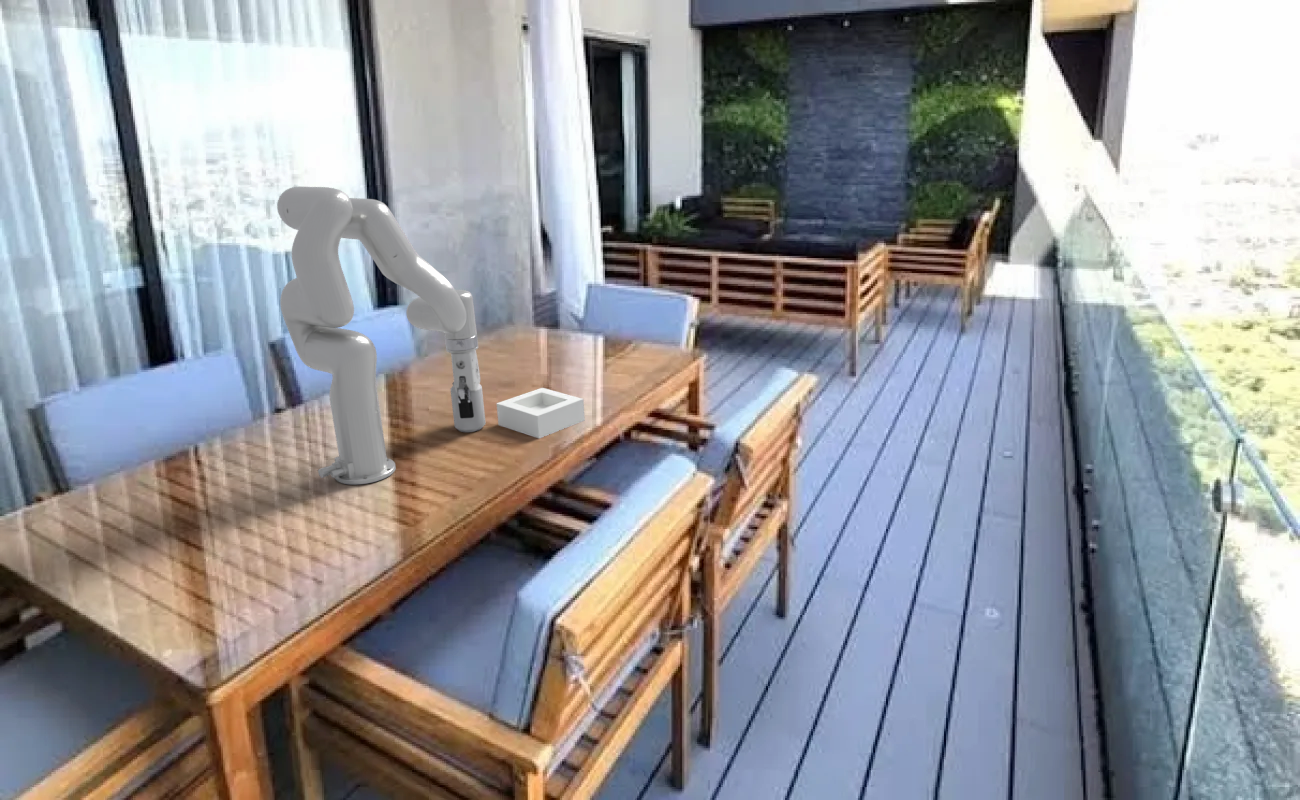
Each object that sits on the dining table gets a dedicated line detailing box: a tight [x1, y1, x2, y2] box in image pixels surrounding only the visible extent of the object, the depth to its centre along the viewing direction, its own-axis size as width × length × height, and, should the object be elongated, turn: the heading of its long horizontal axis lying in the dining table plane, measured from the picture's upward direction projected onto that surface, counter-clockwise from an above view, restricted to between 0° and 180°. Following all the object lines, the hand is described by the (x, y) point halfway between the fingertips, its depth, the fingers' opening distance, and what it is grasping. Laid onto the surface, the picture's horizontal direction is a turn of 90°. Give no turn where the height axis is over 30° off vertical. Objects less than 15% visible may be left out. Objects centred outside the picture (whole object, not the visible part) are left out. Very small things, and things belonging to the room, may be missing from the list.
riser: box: [496, 387, 586, 439], centre depth 206 cm, size 15×15×6 cm
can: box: [449, 381, 487, 433], centre depth 203 cm, size 8×8×12 cm
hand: (469, 410), depth 204 cm, fingers open, 9 cm apart
